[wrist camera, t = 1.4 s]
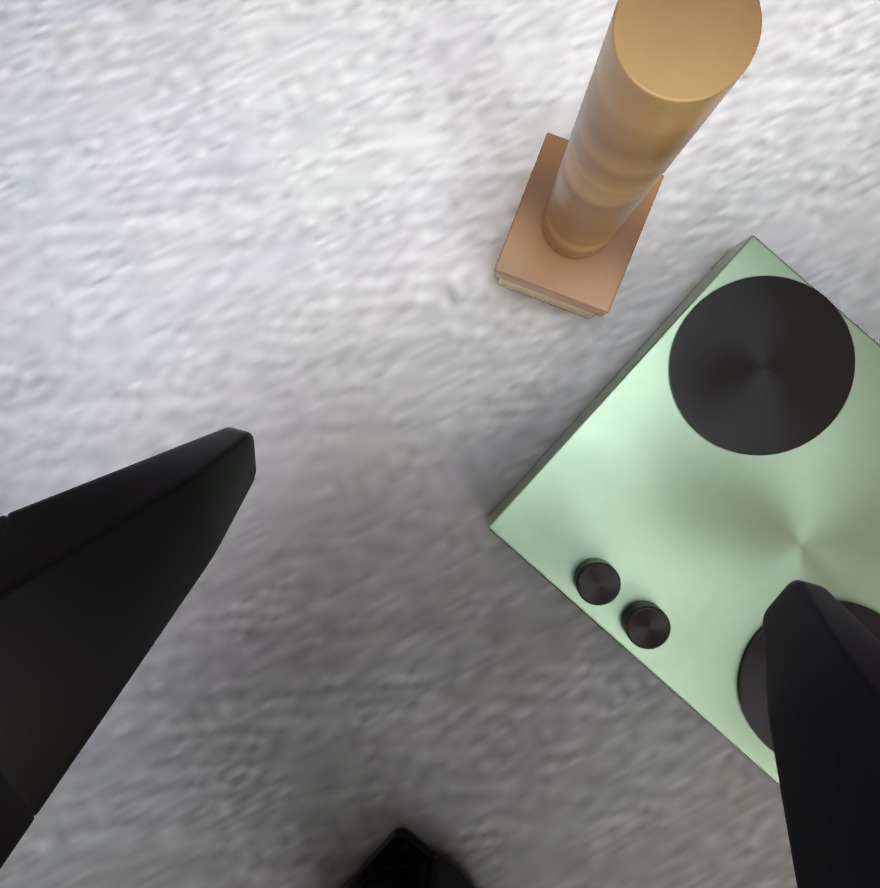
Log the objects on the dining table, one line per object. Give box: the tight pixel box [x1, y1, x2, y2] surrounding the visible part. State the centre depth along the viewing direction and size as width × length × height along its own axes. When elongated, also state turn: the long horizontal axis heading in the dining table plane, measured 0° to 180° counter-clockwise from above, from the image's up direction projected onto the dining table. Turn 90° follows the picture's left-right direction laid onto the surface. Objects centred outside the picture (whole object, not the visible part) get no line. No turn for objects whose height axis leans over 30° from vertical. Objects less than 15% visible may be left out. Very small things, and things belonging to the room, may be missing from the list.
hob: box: [487, 236, 880, 785], centre depth 23 cm, size 16×20×3 cm
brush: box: [494, 0, 762, 318], centre depth 17 cm, size 6×5×14 cm
